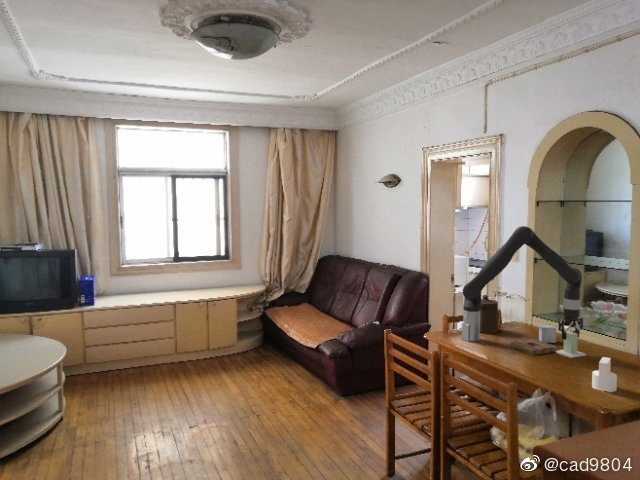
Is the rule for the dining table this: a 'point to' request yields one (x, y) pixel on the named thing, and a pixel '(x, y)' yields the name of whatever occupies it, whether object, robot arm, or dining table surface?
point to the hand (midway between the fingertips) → (570, 338)
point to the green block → (571, 343)
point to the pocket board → (533, 346)
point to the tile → (570, 354)
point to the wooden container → (488, 315)
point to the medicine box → (547, 334)
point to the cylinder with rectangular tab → (604, 377)
